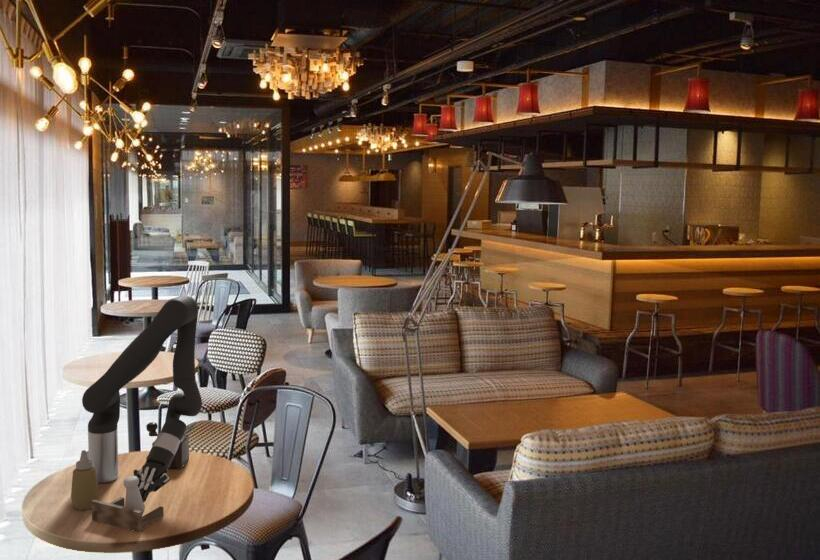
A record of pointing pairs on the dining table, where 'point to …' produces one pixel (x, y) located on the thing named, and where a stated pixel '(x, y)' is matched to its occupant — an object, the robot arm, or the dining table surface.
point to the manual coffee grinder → (182, 450)
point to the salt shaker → (133, 494)
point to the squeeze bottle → (84, 483)
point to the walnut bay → (123, 515)
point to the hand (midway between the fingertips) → (138, 502)
